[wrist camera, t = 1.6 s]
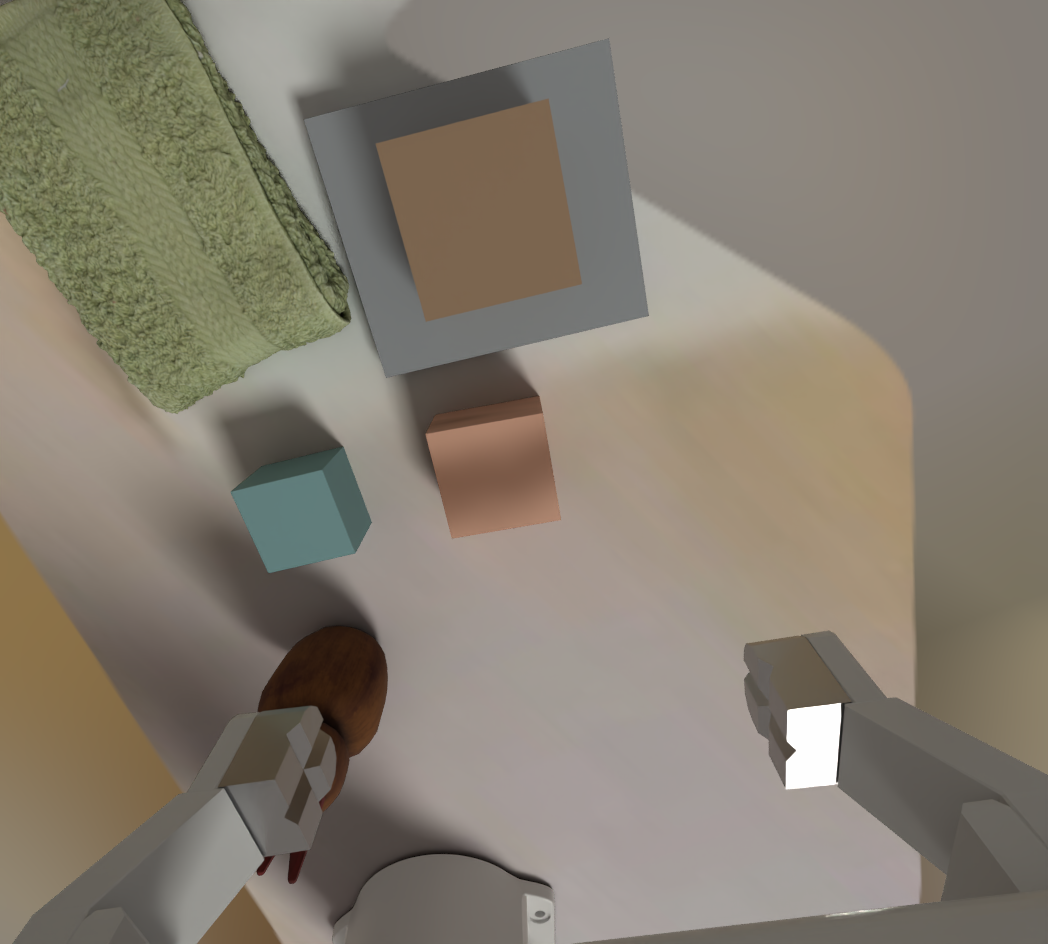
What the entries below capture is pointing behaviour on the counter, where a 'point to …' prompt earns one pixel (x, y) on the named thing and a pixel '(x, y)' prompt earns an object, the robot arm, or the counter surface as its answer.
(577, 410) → the counter surface
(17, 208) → the washcloth
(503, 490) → the brick
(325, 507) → the brick
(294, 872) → the wooden figurine
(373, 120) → the baseplate
